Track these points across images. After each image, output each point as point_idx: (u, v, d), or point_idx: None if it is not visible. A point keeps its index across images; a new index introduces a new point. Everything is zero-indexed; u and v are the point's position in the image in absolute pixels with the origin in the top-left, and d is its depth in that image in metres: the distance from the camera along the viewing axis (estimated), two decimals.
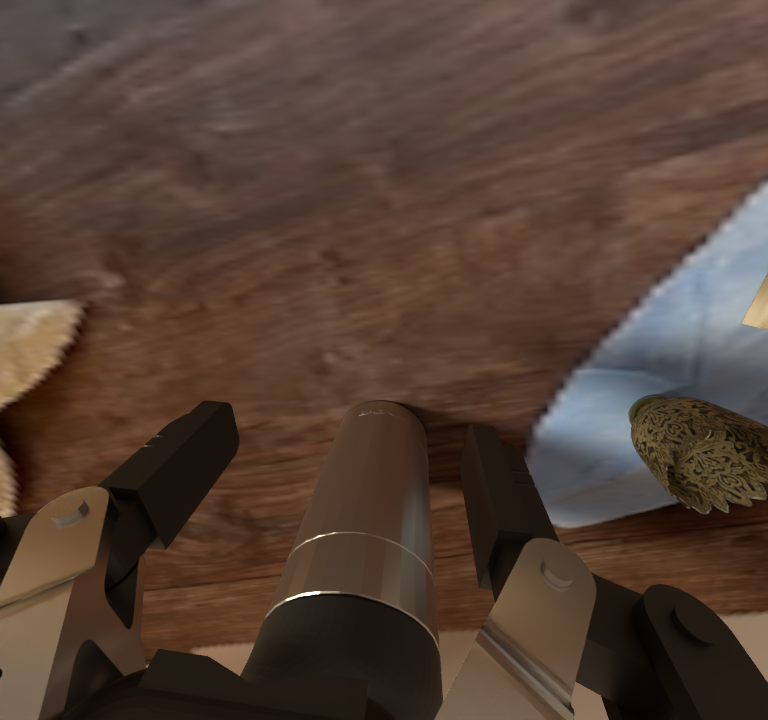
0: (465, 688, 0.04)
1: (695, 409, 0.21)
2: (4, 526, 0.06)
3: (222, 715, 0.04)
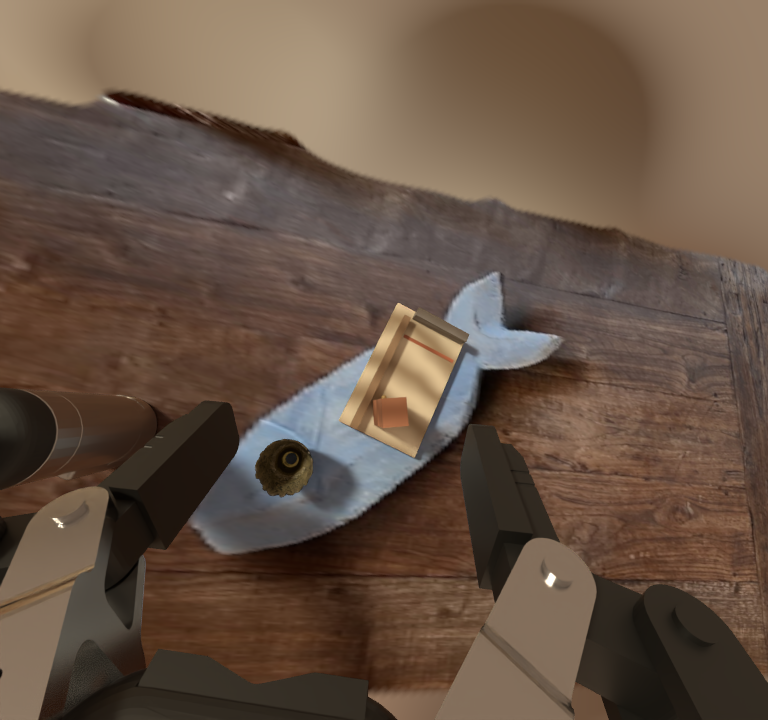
0: (465, 688, 0.04)
1: (289, 439, 0.43)
2: (4, 526, 0.06)
3: (222, 715, 0.04)
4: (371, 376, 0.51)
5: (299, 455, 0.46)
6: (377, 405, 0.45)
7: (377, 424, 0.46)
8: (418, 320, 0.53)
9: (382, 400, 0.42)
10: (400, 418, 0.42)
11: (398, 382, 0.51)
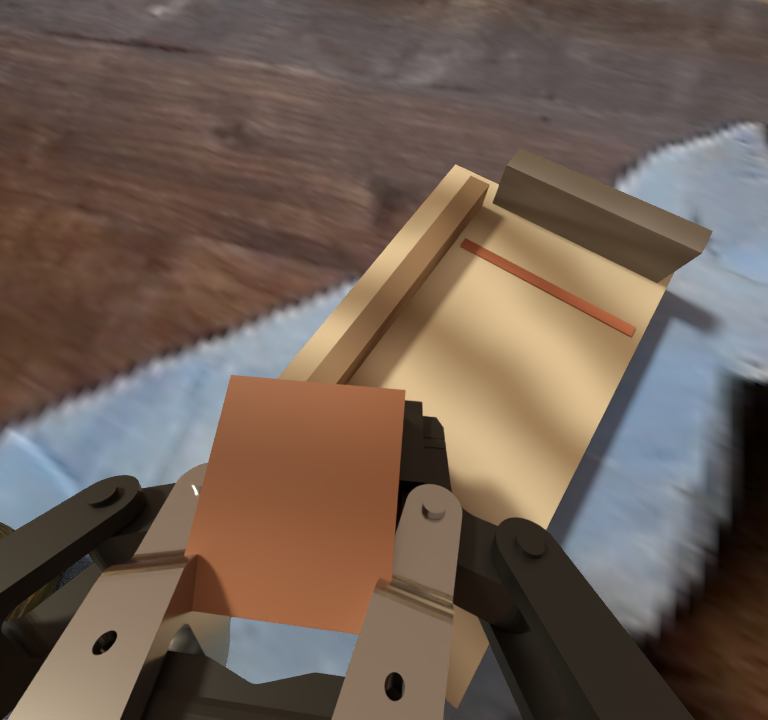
0: (369, 636, 0.04)
1: None
2: (144, 495, 0.07)
3: (222, 715, 0.04)
4: None
5: None
6: None
7: None
8: (514, 196, 0.17)
9: (235, 388, 0.06)
10: (327, 551, 0.05)
11: (426, 376, 0.15)
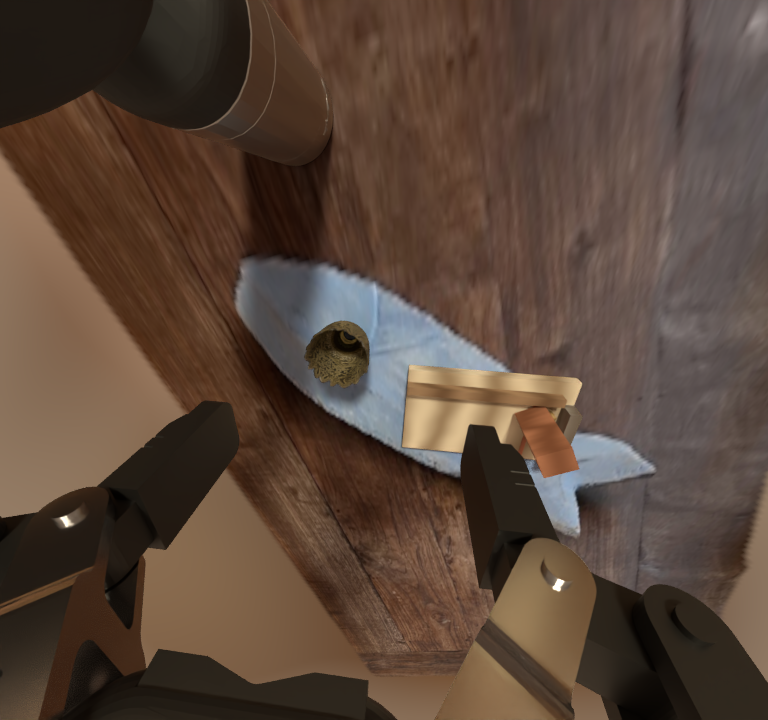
0: (465, 688, 0.04)
1: (367, 342, 0.36)
2: (4, 526, 0.06)
3: (222, 715, 0.04)
4: (472, 384, 0.41)
5: (356, 346, 0.40)
6: (550, 428, 0.37)
7: (524, 429, 0.39)
8: (563, 415, 0.41)
9: (569, 449, 0.34)
10: (550, 469, 0.36)
11: (474, 412, 0.43)
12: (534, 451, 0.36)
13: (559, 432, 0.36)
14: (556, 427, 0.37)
